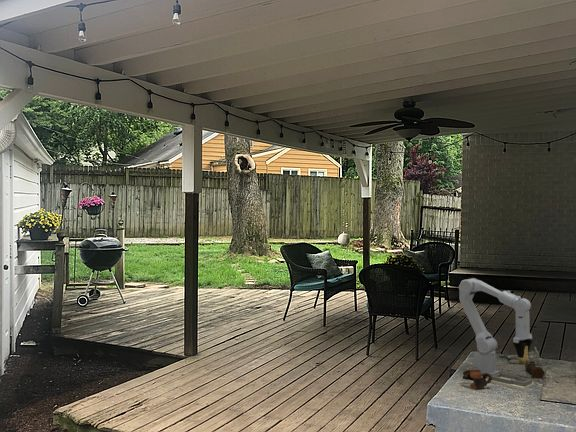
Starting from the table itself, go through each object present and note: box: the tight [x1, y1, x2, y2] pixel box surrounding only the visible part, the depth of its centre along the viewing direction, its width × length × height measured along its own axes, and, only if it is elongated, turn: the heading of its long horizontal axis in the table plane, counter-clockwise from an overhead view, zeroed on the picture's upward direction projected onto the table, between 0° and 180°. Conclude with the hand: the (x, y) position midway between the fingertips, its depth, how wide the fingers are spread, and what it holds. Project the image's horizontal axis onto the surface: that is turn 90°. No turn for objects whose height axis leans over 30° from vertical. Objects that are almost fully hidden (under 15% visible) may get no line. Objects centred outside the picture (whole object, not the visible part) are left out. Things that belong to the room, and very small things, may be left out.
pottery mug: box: [462, 369, 492, 390], centre depth 229 cm, size 12×10×8 cm
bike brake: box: [497, 346, 543, 364], centre depth 270 cm, size 14×7×20 cm
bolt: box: [524, 362, 546, 379], centre depth 248 cm, size 6×5×15 cm
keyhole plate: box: [489, 372, 535, 391], centre depth 233 cm, size 15×11×2 cm
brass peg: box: [517, 345, 529, 366], centre depth 240 cm, size 4×4×8 cm
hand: (522, 356), depth 240 cm, fingers closed on brass peg, 4 cm apart
